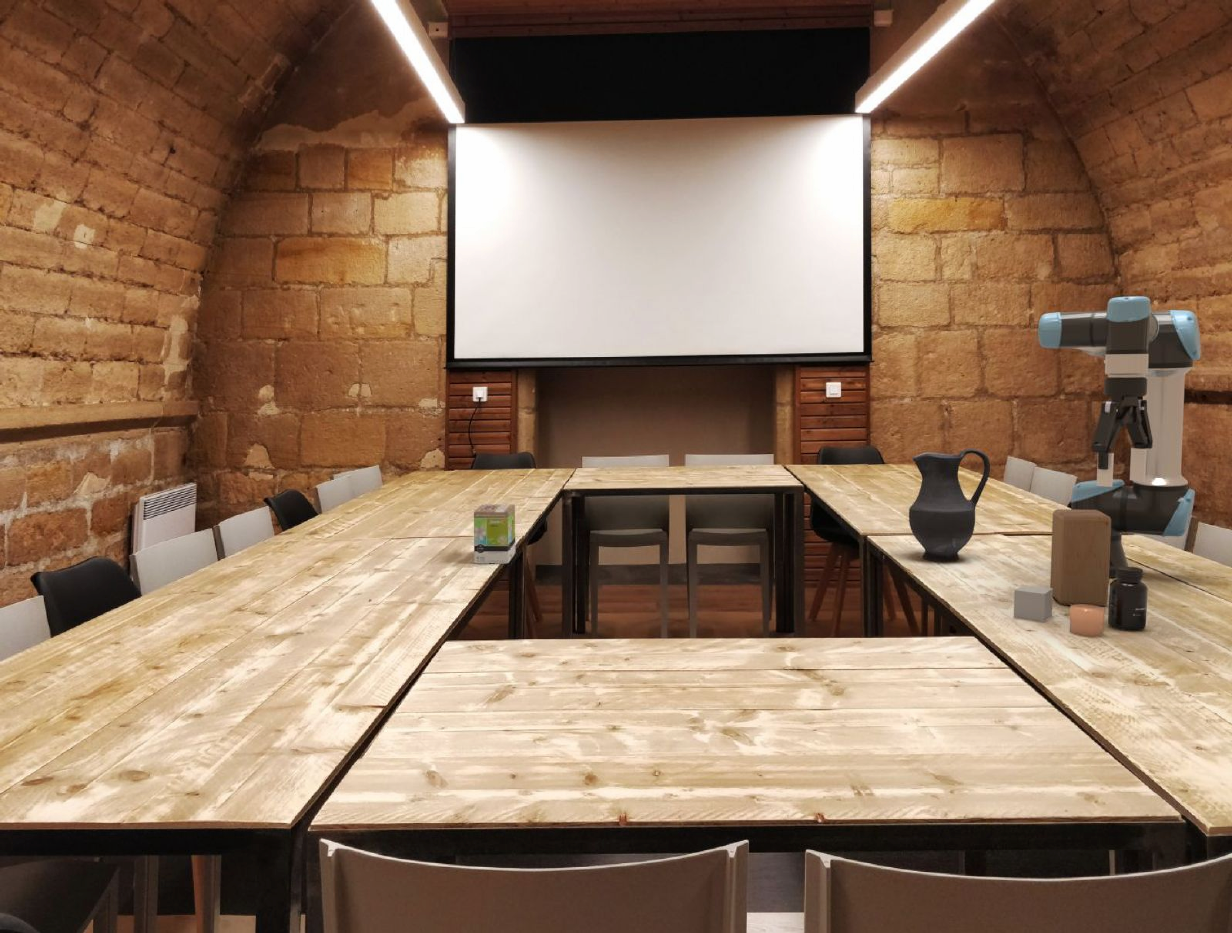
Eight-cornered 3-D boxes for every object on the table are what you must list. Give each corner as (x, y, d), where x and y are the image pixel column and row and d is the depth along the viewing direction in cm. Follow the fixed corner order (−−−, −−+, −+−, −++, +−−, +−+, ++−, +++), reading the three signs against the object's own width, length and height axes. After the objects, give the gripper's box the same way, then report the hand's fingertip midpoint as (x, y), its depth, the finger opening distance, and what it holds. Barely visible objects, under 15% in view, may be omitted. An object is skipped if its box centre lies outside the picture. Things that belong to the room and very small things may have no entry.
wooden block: (1109, 607, 209) (1112, 516, 207) (1059, 605, 211) (1062, 515, 209) (1095, 596, 219) (1099, 509, 217) (1048, 594, 221) (1051, 508, 219)
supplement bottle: (1144, 633, 189) (1147, 573, 188) (1106, 628, 193) (1108, 569, 192) (1147, 625, 195) (1149, 566, 194) (1109, 620, 199) (1111, 563, 197)
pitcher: (903, 552, 273) (905, 446, 269) (980, 552, 270) (983, 446, 267) (913, 564, 256) (916, 452, 252) (995, 565, 253) (998, 451, 250)
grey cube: (1022, 612, 207) (1023, 584, 206) (1051, 616, 203) (1052, 588, 202) (1013, 618, 202) (1014, 589, 202) (1043, 622, 198) (1044, 593, 198)
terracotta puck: (1079, 626, 195) (1080, 602, 194) (1109, 633, 190) (1110, 608, 189) (1063, 632, 191) (1064, 607, 191) (1093, 638, 186) (1094, 613, 186)
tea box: (510, 564, 264) (508, 510, 263) (473, 564, 265) (471, 511, 263) (516, 553, 279) (515, 502, 278) (481, 553, 280) (480, 503, 278)
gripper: (1136, 375, 200) (1131, 476, 202) (1074, 377, 185) (1070, 486, 187) (1174, 375, 194) (1169, 479, 196) (1114, 377, 179) (1109, 490, 181)
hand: (1121, 483), depth 192 cm, fingers open, 13 cm apart
